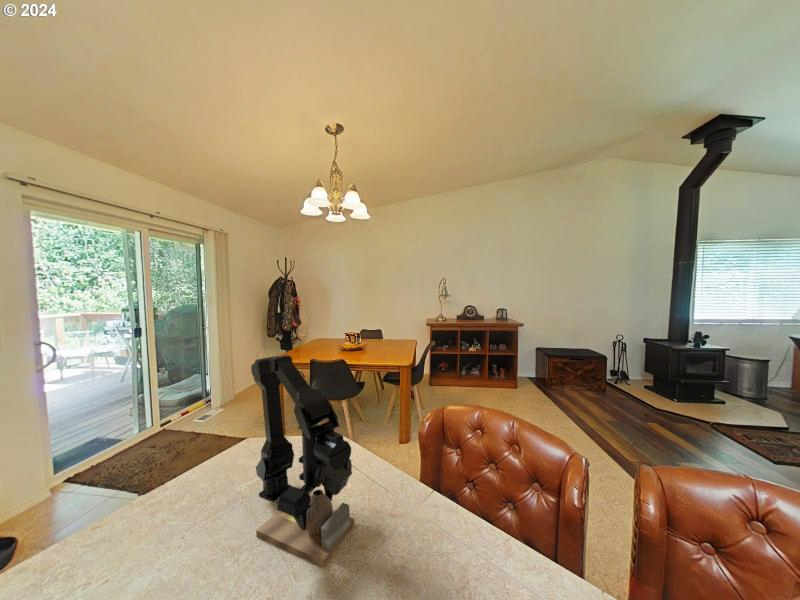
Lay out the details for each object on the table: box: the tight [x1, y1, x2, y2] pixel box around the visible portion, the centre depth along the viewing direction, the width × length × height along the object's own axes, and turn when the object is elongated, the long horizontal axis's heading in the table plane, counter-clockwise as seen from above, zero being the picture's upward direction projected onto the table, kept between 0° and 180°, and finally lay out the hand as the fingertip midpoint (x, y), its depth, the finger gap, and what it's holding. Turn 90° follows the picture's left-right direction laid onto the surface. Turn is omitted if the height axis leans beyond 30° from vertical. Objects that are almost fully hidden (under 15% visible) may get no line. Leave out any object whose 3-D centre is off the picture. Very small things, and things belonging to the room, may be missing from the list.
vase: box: [306, 488, 334, 535], centre depth 68 cm, size 7×7×9 cm
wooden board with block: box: [255, 502, 355, 569], centre depth 69 cm, size 20×12×6 cm, turn 66°
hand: (317, 514), depth 68 cm, fingers open, 9 cm apart
